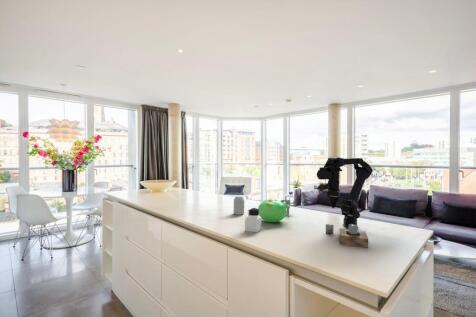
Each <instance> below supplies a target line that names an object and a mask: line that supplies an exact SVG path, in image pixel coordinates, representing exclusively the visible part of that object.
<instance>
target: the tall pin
mask: <svg viewBox="0 0 476 317" xmlns="http://www.w3.org/2000/svg"><path fill="white" fill-rule="evenodd" d="M358 228H359V226H358V224H357V225H355V224H349V228H348V235H356V236H357V233H358V231H359V229H358Z"/></svg>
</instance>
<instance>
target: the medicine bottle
mask: <svg viewBox="0 0 476 317" xmlns="http://www.w3.org/2000/svg"><path fill="white" fill-rule="evenodd" d="M260 230H262V219H261V217H260V216H259V209H258V207H257V208H256V207H250V208H247V216H246V217H245V219H244V231H245V232H249V233H258V232H259V231H260Z"/></svg>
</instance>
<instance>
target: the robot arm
mask: <svg viewBox="0 0 476 317" xmlns="http://www.w3.org/2000/svg"><path fill="white" fill-rule="evenodd" d="M347 165H348V166H349V165H353V169H354V170H355V177H356V178H355V180H354V182H353V185H352V187H351V189H350V193H349V194H348V197H347V198H346V199H343V200H342V202H341V204H340V211H341V215H342V216H343V224H342V226H344V227H345V228H348V229H349V224H355V225H357V226H358V219H359V218H360V217H361V213H360V212H359V210H358V206H359V205H358V199H359V197H360V194H361V192H362V189H363V186H364V184H365V182H366V181H367V180H368V179H369V178H370V177H371V175H372V173H373V167H371V165H370V164H369V163H367V162H366V161H365V160H364V159H363V158H362V157H360V156H359V157H356V156H355V157H346V158H344V157H340V156H337V157H336V156H335V157H334V156H333V157H332V156H329V157H328V159H327V160H326V163H325V164H324V165H323V166H322V167H321V166H320V167H319V169H318V170H317V172H316V178H317V179H318V180H321V181H322V180H328V181H327V183H323V182H322V183H320V184H319V185H317V188H318V190H319V192H323V191H325V190H327V192H326V196H327V197H328V198H329V199H330V204H331V206H330V207H331V208H332V209H335V206H336V205H337V202H338V200H339V198H340V192H341V189H340V172H342V171H343V169H342V167H344V166H347Z"/></svg>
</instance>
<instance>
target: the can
mask: <svg viewBox="0 0 476 317" xmlns="http://www.w3.org/2000/svg"><path fill="white" fill-rule="evenodd" d="M233 214H234V215H235V216H243V215H244V214H245V198H244V196H235V197H234V198H233Z"/></svg>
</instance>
